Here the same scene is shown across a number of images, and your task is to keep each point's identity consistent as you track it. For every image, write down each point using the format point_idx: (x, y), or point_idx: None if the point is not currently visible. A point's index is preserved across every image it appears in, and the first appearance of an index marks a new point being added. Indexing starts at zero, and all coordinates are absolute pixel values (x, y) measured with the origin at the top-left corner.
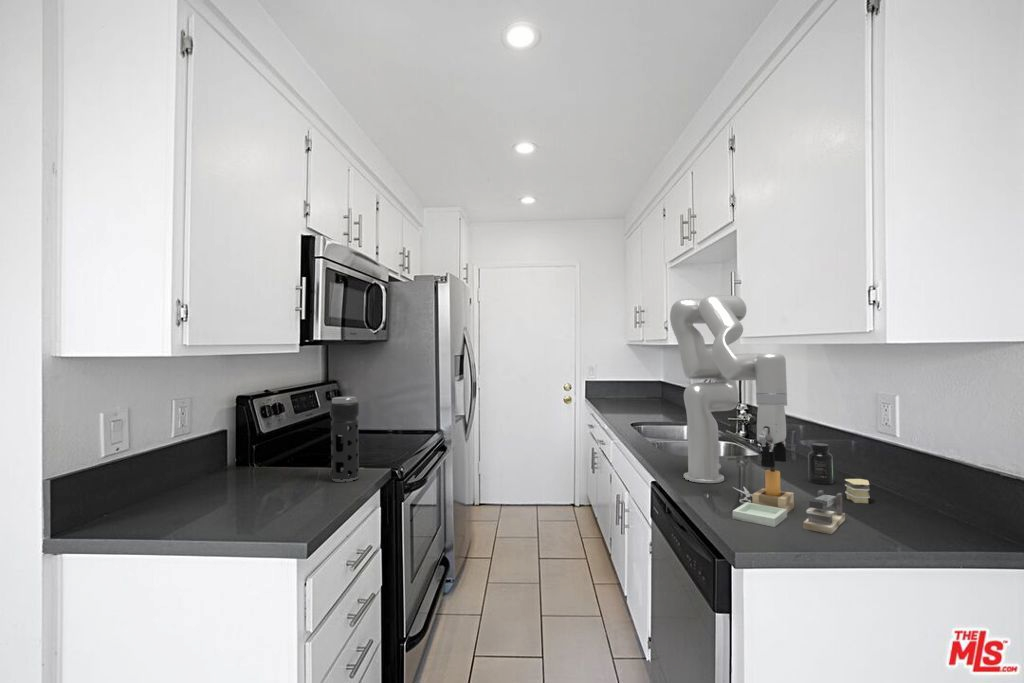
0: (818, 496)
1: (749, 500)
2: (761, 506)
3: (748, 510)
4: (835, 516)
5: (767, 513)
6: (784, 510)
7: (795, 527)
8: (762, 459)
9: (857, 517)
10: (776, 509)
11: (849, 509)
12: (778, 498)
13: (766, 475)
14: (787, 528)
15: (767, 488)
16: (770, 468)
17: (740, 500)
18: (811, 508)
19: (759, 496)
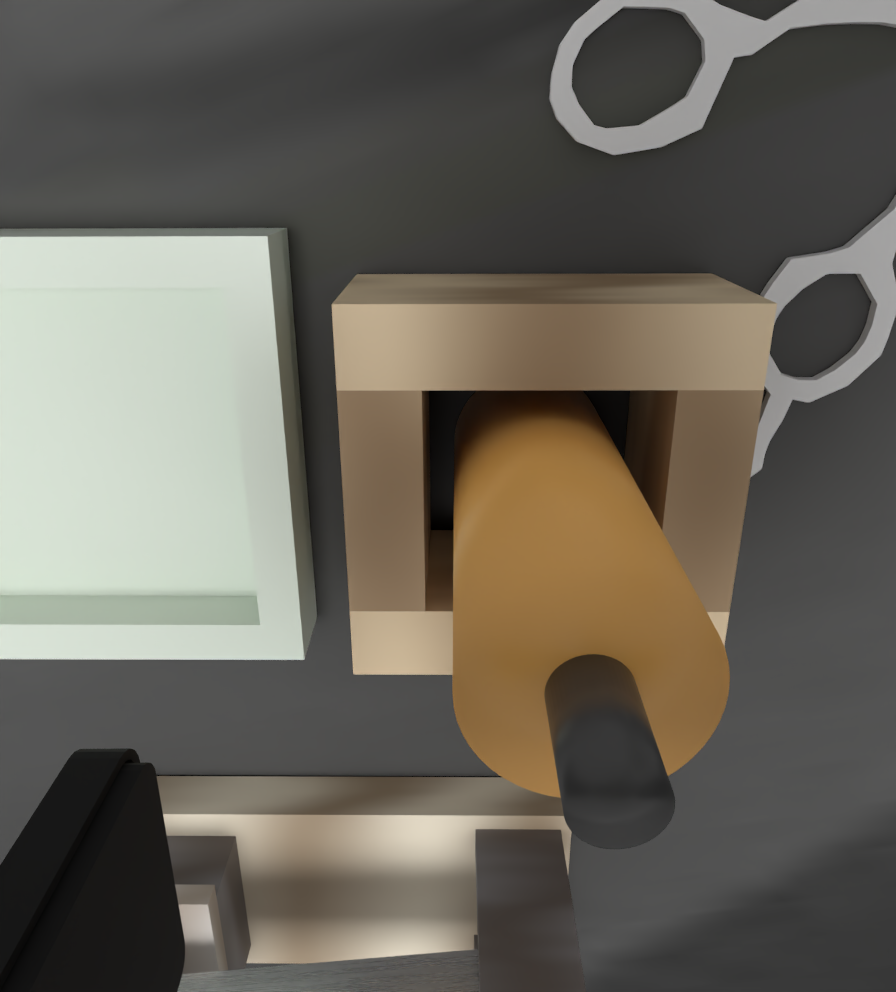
0: (480, 963)
1: (690, 112)
2: (239, 430)
3: (173, 292)
4: (427, 935)
5: (221, 483)
6: (243, 653)
7: (85, 729)
8: (5, 909)
9: (670, 962)
10: (255, 576)
11: (879, 899)
12: (352, 616)
13: (480, 577)
14: (9, 693)
15: (466, 496)
16: (562, 706)
17: (620, 6)
18: (187, 919)
19: (342, 396)
